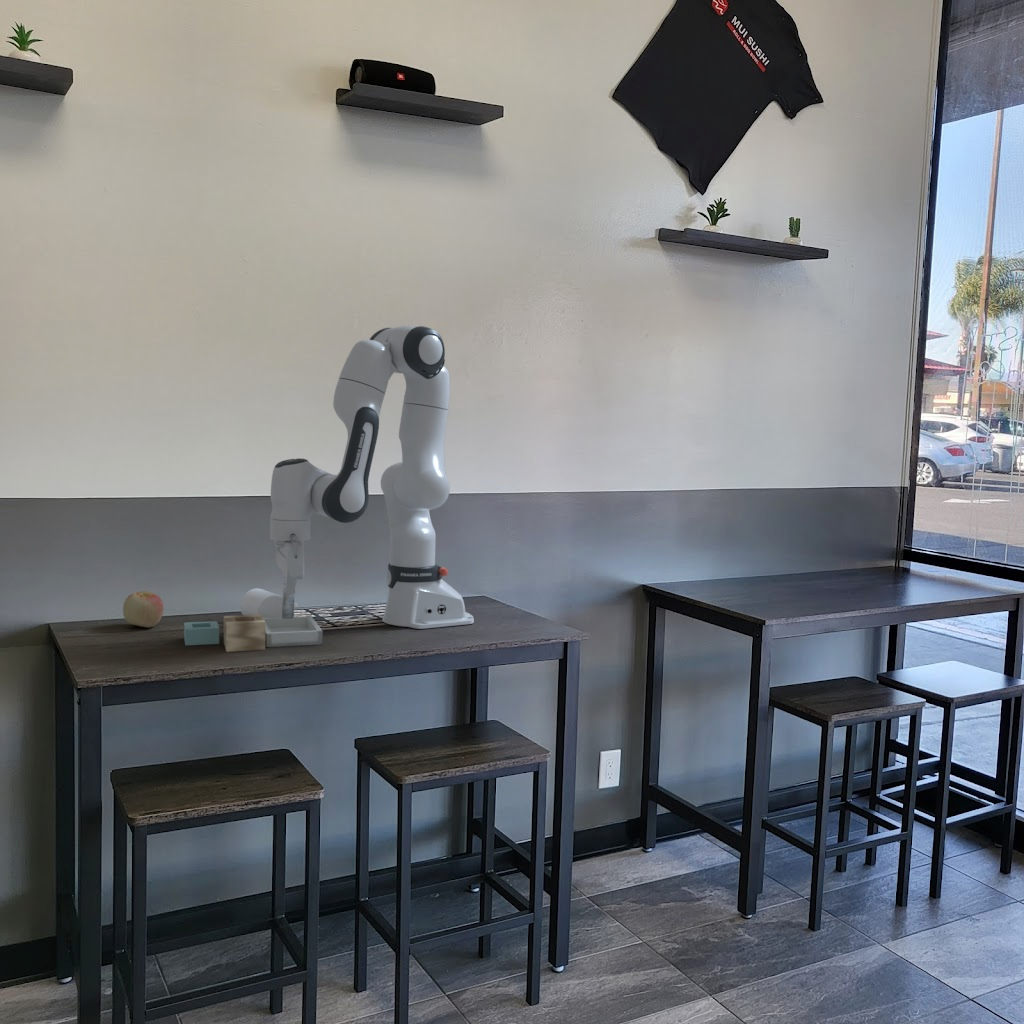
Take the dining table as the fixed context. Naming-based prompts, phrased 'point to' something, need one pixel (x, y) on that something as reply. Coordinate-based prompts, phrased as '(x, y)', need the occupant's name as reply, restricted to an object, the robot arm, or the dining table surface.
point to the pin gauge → (287, 602)
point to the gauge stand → (201, 633)
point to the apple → (143, 609)
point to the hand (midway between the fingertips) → (289, 592)
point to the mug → (262, 604)
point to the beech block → (244, 633)
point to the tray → (292, 632)
